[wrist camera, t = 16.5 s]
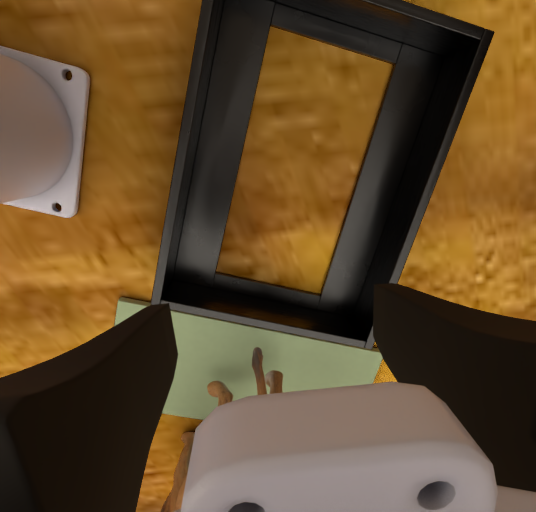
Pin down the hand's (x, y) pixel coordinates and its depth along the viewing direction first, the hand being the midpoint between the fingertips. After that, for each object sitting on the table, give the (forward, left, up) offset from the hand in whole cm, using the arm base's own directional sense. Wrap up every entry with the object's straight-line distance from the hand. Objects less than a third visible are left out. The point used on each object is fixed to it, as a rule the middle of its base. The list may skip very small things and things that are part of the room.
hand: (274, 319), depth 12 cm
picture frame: (+1, +4, -10) cm, 11 cm away
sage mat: (+1, -10, -10) cm, 14 cm away
